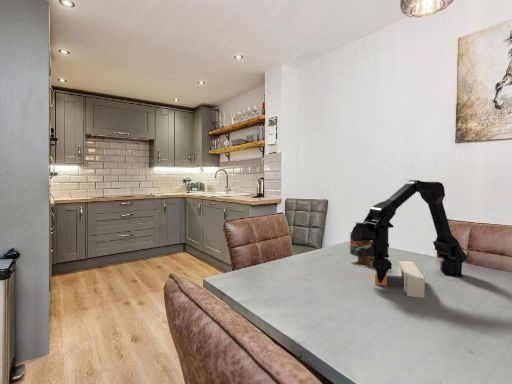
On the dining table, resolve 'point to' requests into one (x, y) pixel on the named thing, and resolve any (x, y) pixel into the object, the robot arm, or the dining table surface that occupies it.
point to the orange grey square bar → (390, 280)
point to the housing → (412, 279)
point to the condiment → (365, 260)
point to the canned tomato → (353, 245)
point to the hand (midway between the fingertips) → (379, 280)
